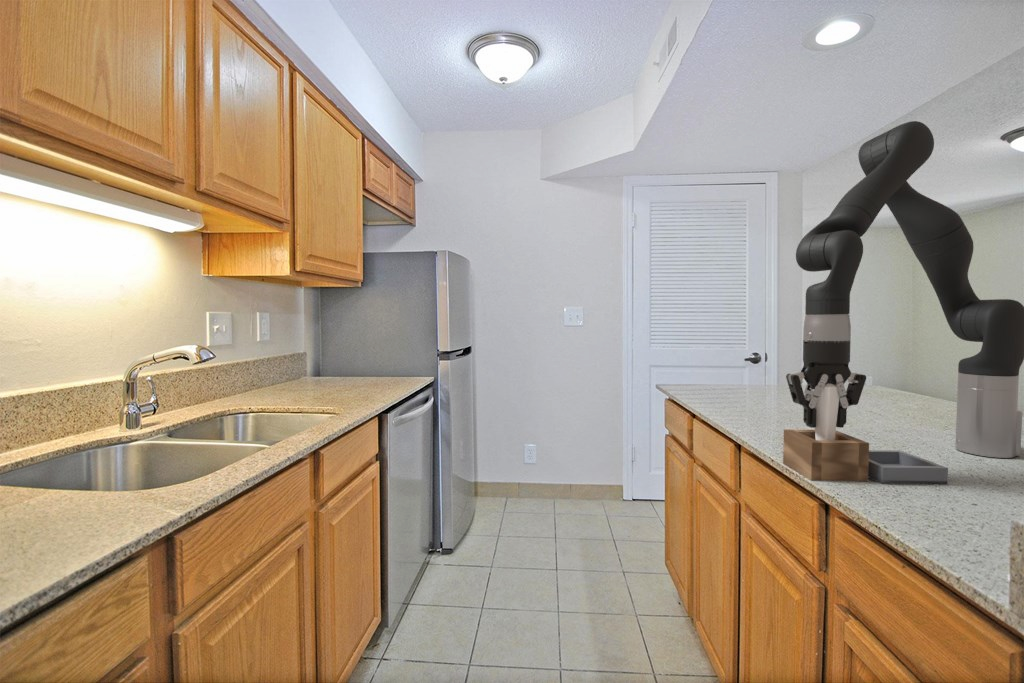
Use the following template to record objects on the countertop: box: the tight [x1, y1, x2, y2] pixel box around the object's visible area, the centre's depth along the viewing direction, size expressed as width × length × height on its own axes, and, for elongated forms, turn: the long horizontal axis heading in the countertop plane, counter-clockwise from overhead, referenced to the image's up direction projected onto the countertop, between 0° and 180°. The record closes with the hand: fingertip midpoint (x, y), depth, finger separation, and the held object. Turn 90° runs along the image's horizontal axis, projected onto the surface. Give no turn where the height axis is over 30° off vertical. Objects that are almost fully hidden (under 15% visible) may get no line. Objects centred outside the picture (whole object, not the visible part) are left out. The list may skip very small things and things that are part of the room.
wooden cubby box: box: [782, 429, 870, 482], centre depth 90 cm, size 10×10×7 cm
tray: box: [868, 449, 949, 486], centre depth 89 cm, size 11×11×3 cm
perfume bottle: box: [813, 383, 839, 440], centre depth 90 cm, size 5×4×15 cm
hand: (824, 426), depth 90 cm, fingers closed on perfume bottle, 4 cm apart
